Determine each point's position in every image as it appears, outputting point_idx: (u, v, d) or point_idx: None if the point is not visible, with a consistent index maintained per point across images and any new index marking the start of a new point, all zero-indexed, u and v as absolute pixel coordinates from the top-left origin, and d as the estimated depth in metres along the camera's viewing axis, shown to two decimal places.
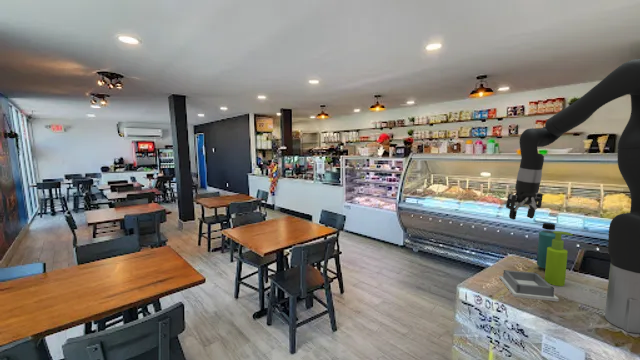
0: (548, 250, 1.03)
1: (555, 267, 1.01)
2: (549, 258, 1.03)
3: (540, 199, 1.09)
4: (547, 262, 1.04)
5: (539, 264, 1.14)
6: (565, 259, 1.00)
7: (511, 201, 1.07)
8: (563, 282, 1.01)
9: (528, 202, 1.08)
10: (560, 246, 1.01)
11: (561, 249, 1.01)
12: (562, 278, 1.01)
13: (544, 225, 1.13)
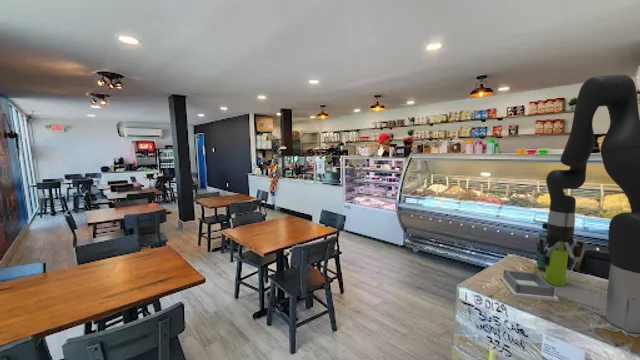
0: None
1: (556, 266, 1.01)
2: (550, 258, 1.03)
3: (579, 247, 1.00)
4: None
5: (539, 264, 1.14)
6: (566, 259, 1.00)
7: (539, 245, 1.03)
8: (563, 282, 1.01)
9: None
10: (561, 246, 1.01)
11: (562, 249, 1.01)
12: (562, 278, 1.01)
13: (544, 225, 1.13)
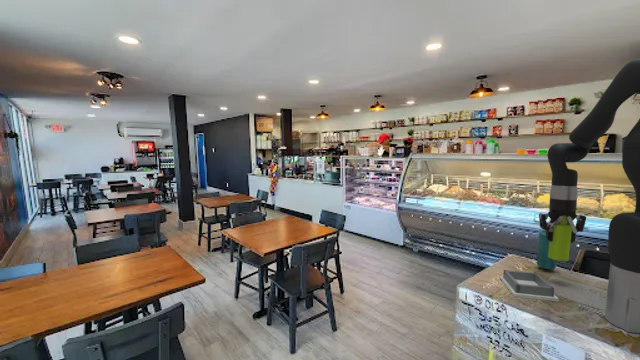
0: None
1: (559, 241, 1.00)
2: (554, 233, 1.01)
3: (582, 222, 0.99)
4: None
5: (539, 264, 1.14)
6: (569, 233, 0.99)
7: (542, 221, 1.02)
8: (567, 257, 1.00)
9: None
10: (565, 220, 1.00)
11: (566, 223, 1.00)
12: (566, 253, 0.99)
13: None
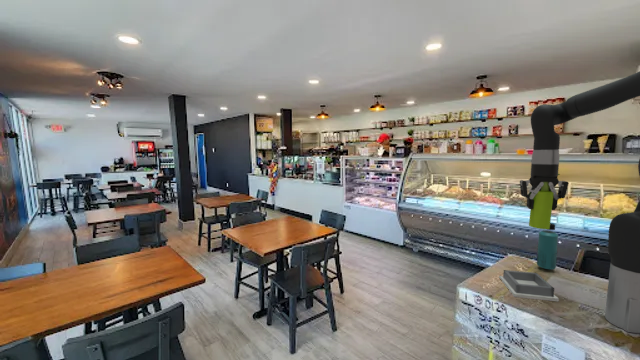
0: None
1: (540, 208, 0.96)
2: (534, 200, 0.97)
3: (564, 188, 0.94)
4: None
5: (539, 264, 1.14)
6: (550, 200, 0.95)
7: (522, 188, 0.98)
8: (548, 225, 0.96)
9: None
10: (546, 186, 0.95)
11: (547, 190, 0.95)
12: (547, 221, 0.95)
13: None
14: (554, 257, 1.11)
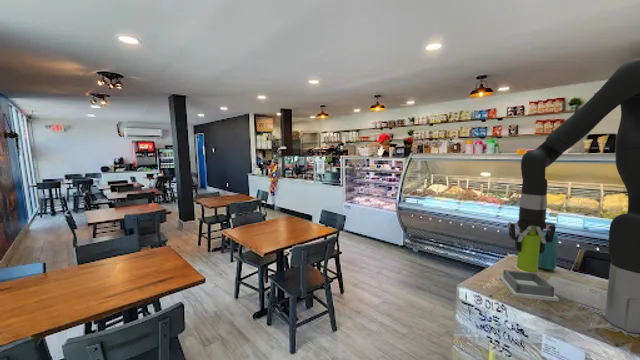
0: None
1: (528, 252, 0.96)
2: (522, 243, 0.97)
3: (552, 232, 0.95)
4: None
5: (539, 264, 1.14)
6: (538, 244, 0.95)
7: (510, 230, 0.98)
8: (535, 268, 0.96)
9: None
10: (533, 230, 0.96)
11: (534, 233, 0.96)
12: (534, 264, 0.96)
13: None
14: (554, 257, 1.11)
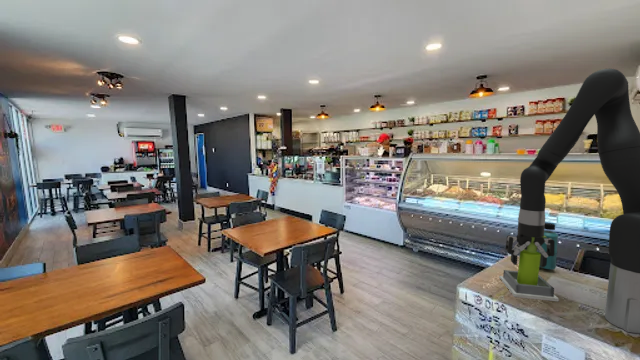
0: (521, 252, 0.98)
1: (527, 270, 0.96)
2: (522, 261, 0.98)
3: (551, 246, 0.95)
4: (519, 265, 0.99)
5: None
6: (538, 262, 0.95)
7: (508, 243, 0.99)
8: None
9: None
10: (533, 249, 0.96)
11: (534, 252, 0.96)
12: (534, 282, 0.96)
13: None
14: (554, 257, 1.11)
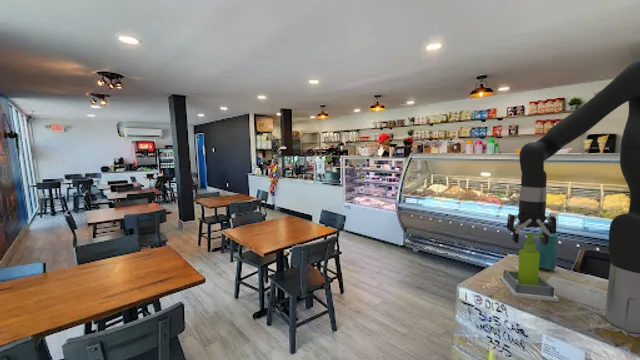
0: (520, 252, 0.98)
1: (527, 270, 0.97)
2: (521, 261, 0.98)
3: (553, 223, 0.94)
4: (519, 265, 0.99)
5: (539, 264, 1.14)
6: (537, 262, 0.96)
7: (509, 222, 0.98)
8: None
9: (535, 225, 0.96)
10: (531, 248, 0.96)
11: (533, 251, 0.96)
12: (534, 282, 0.96)
13: (544, 225, 1.13)
14: (554, 257, 1.11)
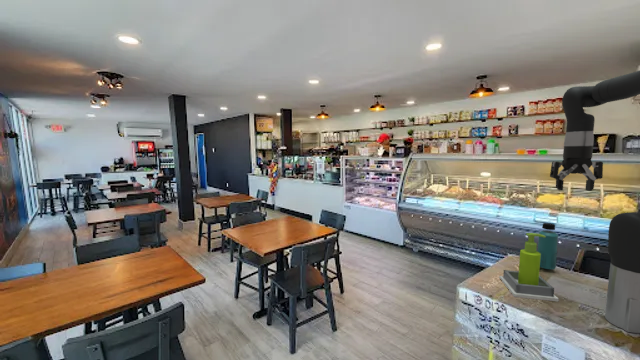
0: (521, 252, 0.98)
1: (528, 270, 0.97)
2: (522, 262, 0.98)
3: (600, 168, 0.94)
4: (520, 265, 0.99)
5: None
6: (538, 262, 0.96)
7: (554, 168, 0.98)
8: None
9: (580, 171, 0.95)
10: (533, 249, 0.96)
11: (534, 252, 0.96)
12: (535, 282, 0.96)
13: (544, 225, 1.13)
14: (554, 257, 1.11)
